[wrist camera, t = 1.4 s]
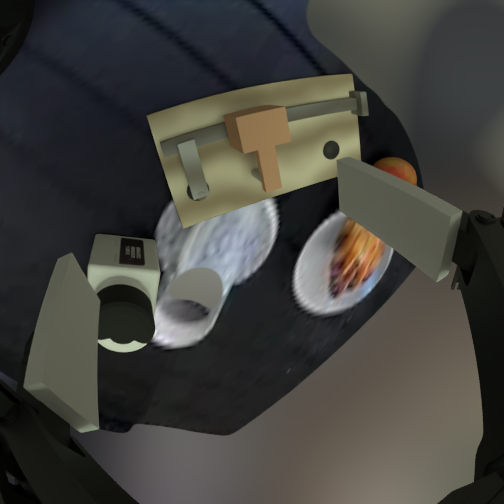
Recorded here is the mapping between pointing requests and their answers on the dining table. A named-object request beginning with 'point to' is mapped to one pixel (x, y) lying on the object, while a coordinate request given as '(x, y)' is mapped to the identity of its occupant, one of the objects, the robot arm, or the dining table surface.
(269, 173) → the block
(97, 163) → the dining table surface
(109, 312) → the container
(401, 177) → the apple
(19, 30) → the robot arm
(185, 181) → the board
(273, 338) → the dining table surface
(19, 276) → the dining table surface
